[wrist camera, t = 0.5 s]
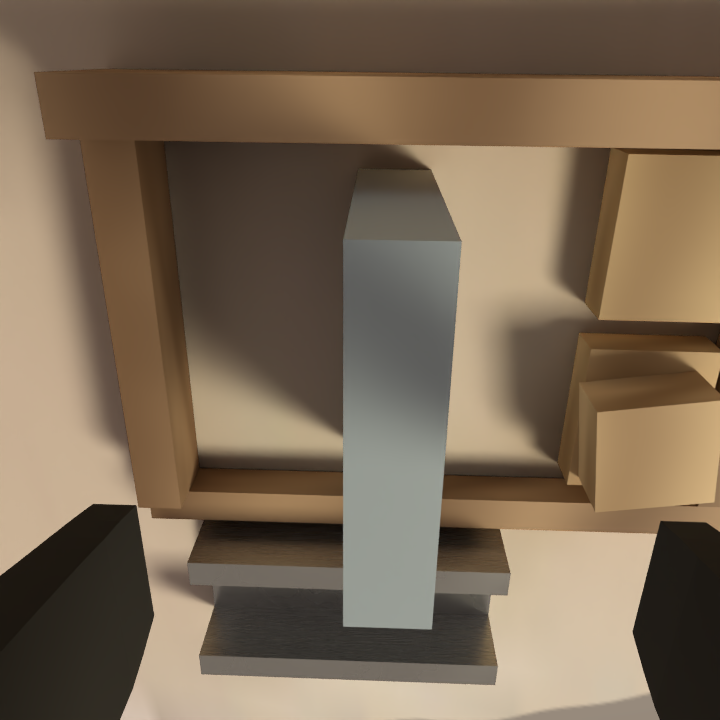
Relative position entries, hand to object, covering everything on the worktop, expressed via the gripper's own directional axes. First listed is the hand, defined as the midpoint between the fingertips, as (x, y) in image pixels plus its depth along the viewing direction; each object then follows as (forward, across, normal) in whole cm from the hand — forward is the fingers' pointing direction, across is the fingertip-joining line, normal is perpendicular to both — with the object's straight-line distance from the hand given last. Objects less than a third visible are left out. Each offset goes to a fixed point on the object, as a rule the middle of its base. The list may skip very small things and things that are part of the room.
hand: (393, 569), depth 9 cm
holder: (+10, +1, +9) cm, 13 cm away
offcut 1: (+10, -7, -3) cm, 12 cm away
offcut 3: (+8, -7, +2) cm, 11 cm away
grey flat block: (+10, 0, 0) cm, 10 cm away
